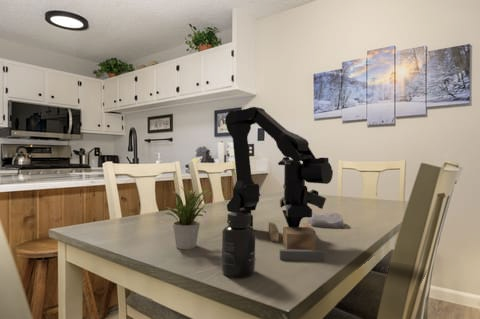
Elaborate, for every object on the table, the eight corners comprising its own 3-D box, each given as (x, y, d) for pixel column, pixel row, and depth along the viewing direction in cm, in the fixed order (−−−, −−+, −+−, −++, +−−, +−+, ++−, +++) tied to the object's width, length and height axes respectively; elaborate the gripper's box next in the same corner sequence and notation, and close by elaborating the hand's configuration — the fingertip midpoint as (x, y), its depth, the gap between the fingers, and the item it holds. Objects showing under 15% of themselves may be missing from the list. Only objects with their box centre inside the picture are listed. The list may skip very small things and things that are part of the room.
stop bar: (280, 259, 70) (280, 251, 70) (279, 257, 71) (279, 249, 71) (323, 260, 70) (323, 251, 70) (321, 258, 71) (321, 249, 71)
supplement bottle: (259, 276, 60) (260, 216, 60) (226, 280, 58) (227, 217, 58) (248, 265, 66) (249, 210, 66) (218, 268, 64) (219, 211, 64)
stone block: (346, 233, 104) (339, 222, 114) (346, 220, 103) (339, 210, 113) (311, 234, 105) (307, 222, 115) (311, 221, 104) (307, 210, 114)
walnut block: (286, 253, 75) (287, 233, 75) (282, 244, 83) (283, 226, 83) (315, 254, 75) (315, 234, 75) (308, 245, 83) (308, 227, 83)
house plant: (225, 241, 85) (226, 183, 85) (206, 256, 71) (206, 188, 71) (179, 237, 89) (180, 182, 89) (153, 251, 76) (154, 185, 76)
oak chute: (271, 241, 86) (271, 230, 86) (268, 231, 98) (268, 222, 98) (315, 242, 85) (315, 231, 85) (307, 232, 97) (307, 222, 97)
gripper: (332, 184, 75) (332, 247, 75) (315, 179, 94) (315, 229, 94) (288, 184, 75) (287, 246, 75) (279, 179, 94) (279, 229, 94)
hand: (294, 237), depth 85 cm, fingers closed
